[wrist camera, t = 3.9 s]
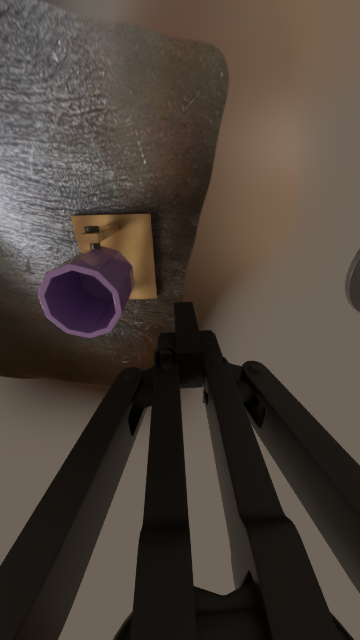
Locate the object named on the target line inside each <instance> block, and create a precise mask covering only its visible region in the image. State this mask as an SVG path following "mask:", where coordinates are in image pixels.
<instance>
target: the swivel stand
mask: <svg viewBox="0 0 360 640" xmlns="http://www.w3.org/2000/svg"><path fill="white" fill-rule="evenodd" d="M71 219H72V223H73V227H74V231H75V235H76V239H77V243H78V247H79V251H80V253H81V252H83V251H86V250H88V249H91V248H90V243H100V245H101V246H104V247H107V248H111V249H114V250H118V251H120V253H121V254H122V255H123V256H124V257H125V258H126V259H127V260H128V262H129V263H130V264H131V265H132V267H133V273H134V281H135V285H134V287H133V289H132V292H131V294H130V297H129V299H148V298H157V287H156V274H155V261H154V249H153V236H152V224H151V214H111V215H73V216H71Z"/></svg>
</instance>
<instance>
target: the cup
mask: <svg viewBox="0 0 360 640" xmlns="http://www.w3.org/2000/svg"><path fill="white" fill-rule="evenodd" d="M90 248H91V249H88V250H86V251H83V252H81V253H79V254H78V255H76V256H74V257H72V258H71V259H69V260H67V261H66V262H64V263H62V264H60V265H59V266H57V267H55V268H53V269H52V270H50V271H48V272H47V273H46V274H45V276H44V279H43V281H42V284H41V286H40V289H39V291H38V298H39V300H40V303H41V305H42V308H43V311H44V313H45V316H46V317H47V318H48V319H49V320H50V321H52V322H53V323H54V324H55V325H57V326H58V327H59V328H61V329H62V330H63V331H64V332H66V333H68V334H73V335H78V336H83V337H87V338H90V337H91V338H92V337H95V336H98V335H101V334H105V333H108V332H111V331H112V330H113V328H114V326H115V325H116V323H117V322H118V320H119V318H120V317H121V315H122V313H123V311H124V308H125V306H126V304H127V301H128V299H129V297H130V294H131V292H132V289H133V287H134V285H135V281H134V273H133V267H132V265H131V264H130V263H129V262H128V260H127V259H126V258H125V257H124V256H123V255H122V254H121V253H120V251H118V250H114V249H111V248H107V247H104V246H101V245H100V243H90Z"/></svg>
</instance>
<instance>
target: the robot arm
mask: <svg viewBox="0 0 360 640" xmlns="http://www.w3.org/2000/svg"><path fill="white" fill-rule="evenodd" d="M174 317H175V332H171V333H161V334H160V336H159V337H158V348H157V349H156V350H155V352H154V360H155V365H154V366H153V367H151V368H150V369H147V370H144V371H141V370H140V369H139V368H136V367H129V368H126V369H124V370H122V371H121V372H120V373H119V374H118V376H117V377H116V379H115V380H114V382H113V384H112V385H111V387H110V389H109V390H108V392H107V394H106V395H105V397H104V398H103V400H102V402H101V403H100V405H99V407H98V408H97V410H96V412H95V413H94V415H93V416H92V418H91V419H90V421H89V423H88V424H87V426H86V428H85V429H84V431H83V432H82V434H81V436H80V437H79V439H78V441H77V442H76V444H75V445H74V447H73V449H72V450H71V452H70V454H69V455H68V457H67V458H66V460H65V462H64V463H63V465H62V467H61V468H60V470H59V471H58V473H57V475H56V476H55V478H54V480H53V481H52V483H51V484H50V486H49V488H48V489H47V491H46V493H45V494H44V496H43V497H42V499H41V501H40V502H39V504H38V506H37V507H36V509H35V510H34V512H33V514H32V516H31V517H30V519H29V520H28V522H27V523H26V525H25V527H24V528H23V530H22V532H21V533H20V535H19V536H18V538H17V540H16V541H15V543H14V545H13V546H12V548H11V549H10V551H9V553H8V554H7V556H6V558H5V559H4V561H3V562H2V564H1V566H0V640H58V638H59V636H60V634H61V632H62V629H63V627H64V624H65V622H66V620H67V617H68V615H69V612H70V610H71V608H72V605H73V603H74V600H75V597H76V595H77V592H78V589H79V587H80V584H81V582H82V579H83V576H84V573H85V571H86V568H87V566H88V563H89V560H90V558H91V555H92V552H93V550H94V547H95V544H96V542H97V539H98V537H99V534H100V531H101V529H102V526H103V523H104V521H105V518H106V515H107V513H108V510H109V507H110V505H111V502H112V499H113V497H114V494H115V491H116V489H117V486H118V483H119V481H120V478H121V476H122V473H123V470H124V468H125V465H126V462H127V460H128V457H129V454H130V452H131V449H132V447H133V444H134V441H135V439H136V436H137V433H138V431H139V428H140V425H141V423H142V420H143V417H144V415H145V412H146V409H147V407H149V406H152V411H151V425H150V438H149V451H148V464H147V478H146V491H145V505H144V518H143V525H142V530H141V532H140V538H139V545H138V556H137V567H136V580H135V592H134V603H133V611H132V612H131V614H130V615H129V616H128V617H127V619H126V620H125V621H124V623H123V624H122V626H121V627H120V629H119V630H118V632H117V634H116V635H115V637H114V639H113V640H354V639H353V638H352V636H351V635H349V633H348V632H347V631H346V629H345V628H344V627H343V626H342V625H341V623H340V622H339V621H338V620H337V619H336V618H335V617H334V616H333V615H332V613H331V612H330V611H329V609H328V606H327V604H326V601H325V599H324V596H323V593H322V591H321V588H320V586H319V583H318V581H317V578H316V575H315V573H314V571H313V568H312V565H311V563H310V560H309V558H308V555H307V553H306V550H305V548H304V545H303V542H302V540H301V537H300V535H299V533H298V531H297V529H296V527H295V525H294V524H293V522H292V521H291V520H290V519H289V518H288V517H286V515H285V514H284V512H283V510H282V508H281V505H280V502H279V499H278V497H277V494H276V491H275V488H274V486H273V483H272V480H271V478H270V475H269V472H268V469H267V467H266V464H265V461H264V459H263V456H262V454H261V450H260V448H259V445H258V442H257V439H256V437H255V434H254V431H253V429H252V426H253V428H254V429H255V431H256V433H257V434H258V436H259V437H260V439H261V440H262V442H263V443H264V445H265V447H266V448H267V449H268V451H269V453H270V454H271V456H272V458H273V459H274V461H275V462H276V464H277V465H278V467H279V468H280V470H281V472H282V473H283V475H284V476H285V478H286V479H287V481H288V483H289V484H290V486H291V487H292V489H293V491H294V492H295V494H296V495H297V497H298V498H299V500H300V501H301V503H302V505H303V506H304V508H305V509H306V511H307V512H308V514H309V515H310V517H311V519H312V520H313V522H314V523H315V525H316V527H317V528H318V530H319V531H320V533H321V534H322V536H323V537H324V539H325V541H326V542H327V544H328V545H329V547H330V548H331V550H332V552H333V553H334V555H335V556H336V558H337V559H338V561H339V563H340V564H341V566H342V567H343V569H344V570H345V572H346V574H347V575H348V576H349V578H350V580H351V581H352V583H353V584H354V586H355V587H356V589H357V590H358V592H359V593H360V465H359V464H358V463H357V462H356V461H355V460H354V459H353V458H352V457H351V456H350V455H349V454H348V453H347V452H346V451H345V450H344V449H343V448H342V447H341V445H339V443H338V442H337V441H336V440H335V439H334V438H333V437H332V436H331V435H330V434H329V433H328V432H327V431H326V430H325V429H324V428H323V427H322V426H321V424H320V423H319V422H318V421H317V420H316V419H315V418H314V417H313V416H312V415H311V414H310V413H309V412H308V411H307V410H306V409H305V408H304V407H303V405H302V404H301V403H300V402H299V401H298V400H297V399H296V398H295V397H294V396H293V395H292V394H291V393H290V392H289V391H288V390H287V389H286V388H285V387H284V385H283V384H282V383H281V382H280V381H279V380H278V379H277V378H276V377H275V376H274V375H273V374H272V373H271V372H270V371H269V370H268V369H267V368H266V367H265V366H264V365H263V364H262V363H259V362H256V361H247V362H245V363H244V364H243V366H238V365H234V364H231V363H229V362H228V361H227V360H226V358H224V357H223V356H222V353H221V350H220V347H219V344H218V342H217V339H216V336H215V334H214V333H213V332H212V331H211V330H208V331H207V330H206V331H199V329H198V325H197V321H196V316H195V312H194V308H193V304H192V302H180V303H174ZM202 383H203V387H204V393H203V403H205V406H206V412H207V418H208V423H209V429H210V435H211V440H212V446H213V451H214V457H215V463H216V468H217V474H218V480H219V485H220V491H221V496H222V501H223V508H224V513H225V518H226V524H227V530H228V536H229V540H230V549H231V563H232V570H233V578H234V583H235V591H233V592H231V593H229V594H228V595H223V596H222V595H219V594H216V593H213V592H209V591H207V590H204V589H200V588H198V587H195V586H193V572H192V557H191V543H190V530H189V520H188V506H187V490H186V475H185V460H184V444H183V431H182V430H183V429H182V414H181V399H180V388H195V387H202ZM251 425H252V426H251Z"/></svg>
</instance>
